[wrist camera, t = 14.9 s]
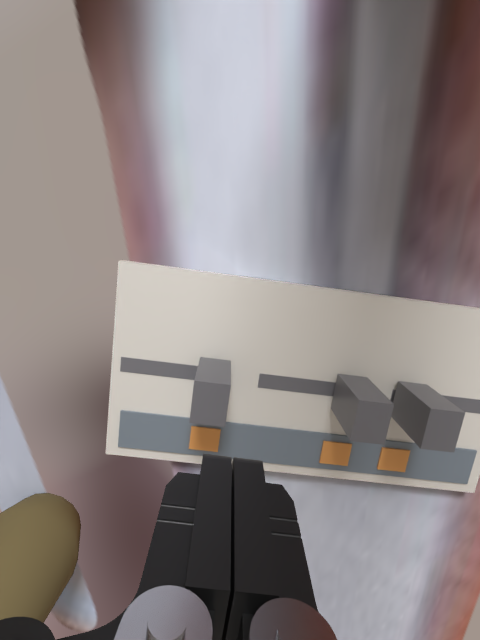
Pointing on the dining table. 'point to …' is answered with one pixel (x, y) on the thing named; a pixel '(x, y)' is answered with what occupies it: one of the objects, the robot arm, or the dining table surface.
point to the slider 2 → (427, 416)
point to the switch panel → (286, 373)
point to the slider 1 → (211, 392)
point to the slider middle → (361, 409)
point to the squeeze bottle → (36, 554)
